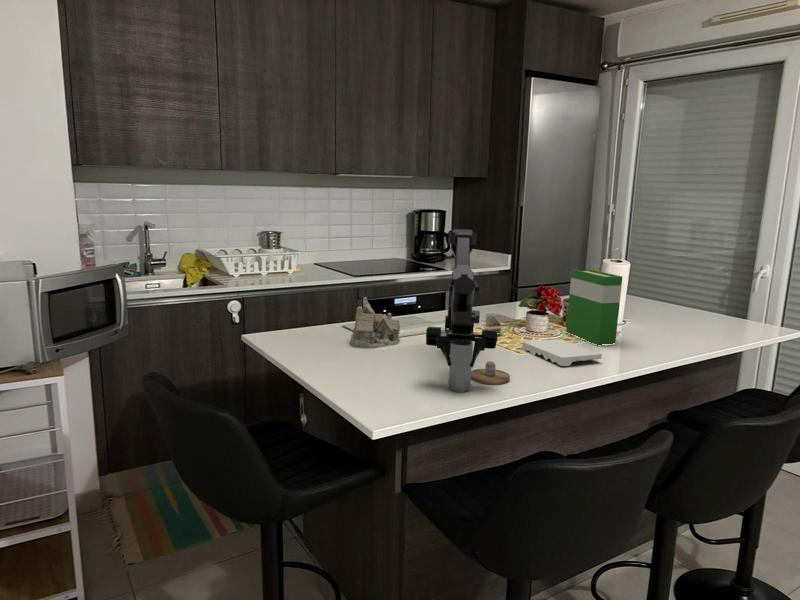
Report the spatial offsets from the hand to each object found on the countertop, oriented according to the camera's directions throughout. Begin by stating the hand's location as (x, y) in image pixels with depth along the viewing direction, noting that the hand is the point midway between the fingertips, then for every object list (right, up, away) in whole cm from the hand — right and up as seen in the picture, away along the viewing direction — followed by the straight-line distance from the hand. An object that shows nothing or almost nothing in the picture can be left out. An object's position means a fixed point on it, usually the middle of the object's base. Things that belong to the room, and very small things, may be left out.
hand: (460, 366), depth 153 cm
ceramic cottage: (-24, +3, +44) cm, 51 cm away
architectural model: (+18, +4, +60) cm, 63 cm away
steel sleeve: (0, -6, +3) cm, 7 cm away
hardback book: (+52, +3, +59) cm, 79 cm away
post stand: (+9, -5, +12) cm, 16 cm away
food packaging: (+36, -2, +36) cm, 50 cm away
